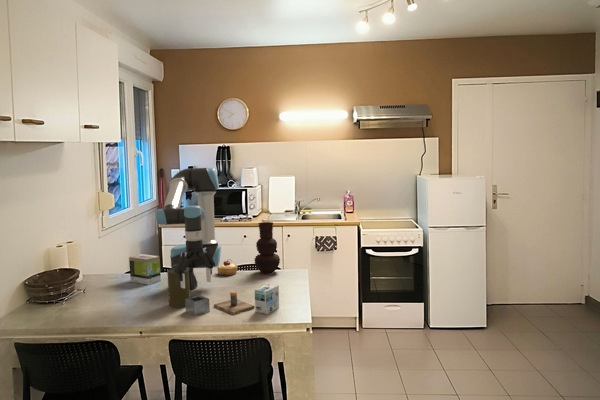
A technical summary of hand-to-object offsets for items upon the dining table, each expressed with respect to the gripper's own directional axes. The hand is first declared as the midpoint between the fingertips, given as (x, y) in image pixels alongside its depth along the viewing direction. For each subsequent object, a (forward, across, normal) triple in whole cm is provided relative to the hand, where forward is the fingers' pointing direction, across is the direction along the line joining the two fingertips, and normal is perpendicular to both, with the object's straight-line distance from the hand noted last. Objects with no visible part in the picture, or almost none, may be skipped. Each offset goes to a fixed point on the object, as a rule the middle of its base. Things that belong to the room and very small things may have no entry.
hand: (196, 284), depth 233 cm
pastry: (+12, +48, +46) cm, 68 cm away
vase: (+12, +66, +30) cm, 73 cm away
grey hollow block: (+13, 0, 0) cm, 13 cm away
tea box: (+12, +6, +67) cm, 69 cm away
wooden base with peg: (+13, +15, -8) cm, 21 cm away
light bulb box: (+13, +24, -22) cm, 35 cm away
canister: (+13, 0, +15) cm, 20 cm away
